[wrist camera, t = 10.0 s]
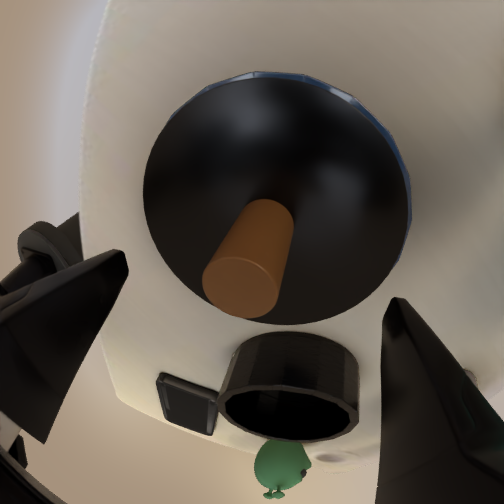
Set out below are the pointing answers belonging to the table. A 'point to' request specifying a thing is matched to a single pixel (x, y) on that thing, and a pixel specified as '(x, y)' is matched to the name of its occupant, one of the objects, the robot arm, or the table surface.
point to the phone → (187, 404)
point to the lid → (275, 201)
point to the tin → (291, 388)
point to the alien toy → (280, 466)
